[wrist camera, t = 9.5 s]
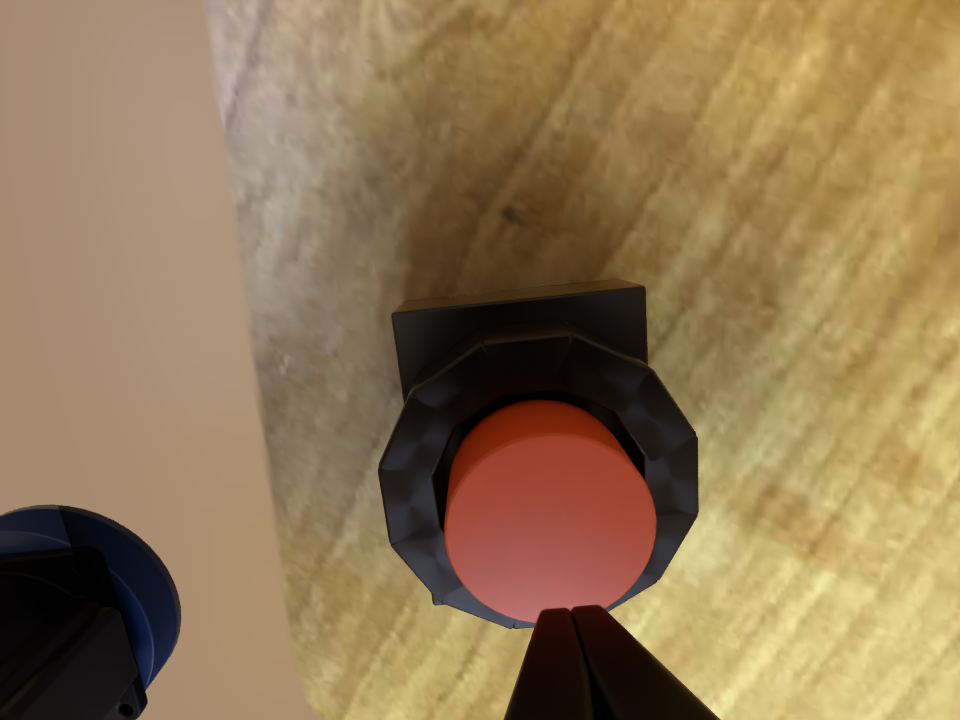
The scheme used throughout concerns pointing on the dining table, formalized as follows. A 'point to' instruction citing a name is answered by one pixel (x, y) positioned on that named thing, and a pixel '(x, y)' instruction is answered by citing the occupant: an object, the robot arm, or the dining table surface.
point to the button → (546, 511)
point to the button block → (520, 377)
